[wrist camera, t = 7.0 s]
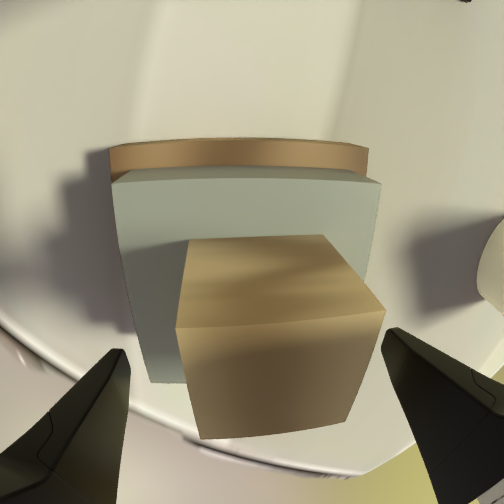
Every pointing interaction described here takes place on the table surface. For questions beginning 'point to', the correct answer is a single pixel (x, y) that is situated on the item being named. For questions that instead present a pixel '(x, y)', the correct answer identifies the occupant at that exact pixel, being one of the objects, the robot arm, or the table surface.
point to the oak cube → (273, 334)
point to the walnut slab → (237, 154)
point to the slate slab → (224, 231)
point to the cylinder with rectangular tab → (493, 269)
